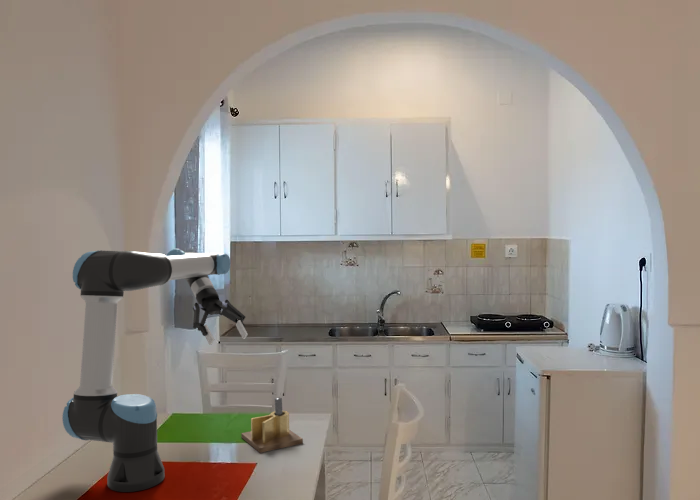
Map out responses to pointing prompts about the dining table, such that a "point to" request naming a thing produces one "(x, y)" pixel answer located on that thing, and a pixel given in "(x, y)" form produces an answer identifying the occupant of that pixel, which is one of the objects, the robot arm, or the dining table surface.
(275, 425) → the brass hinge
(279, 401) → the hinge pin
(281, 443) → the walnut board
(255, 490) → the dining table surface
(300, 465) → the dining table surface
